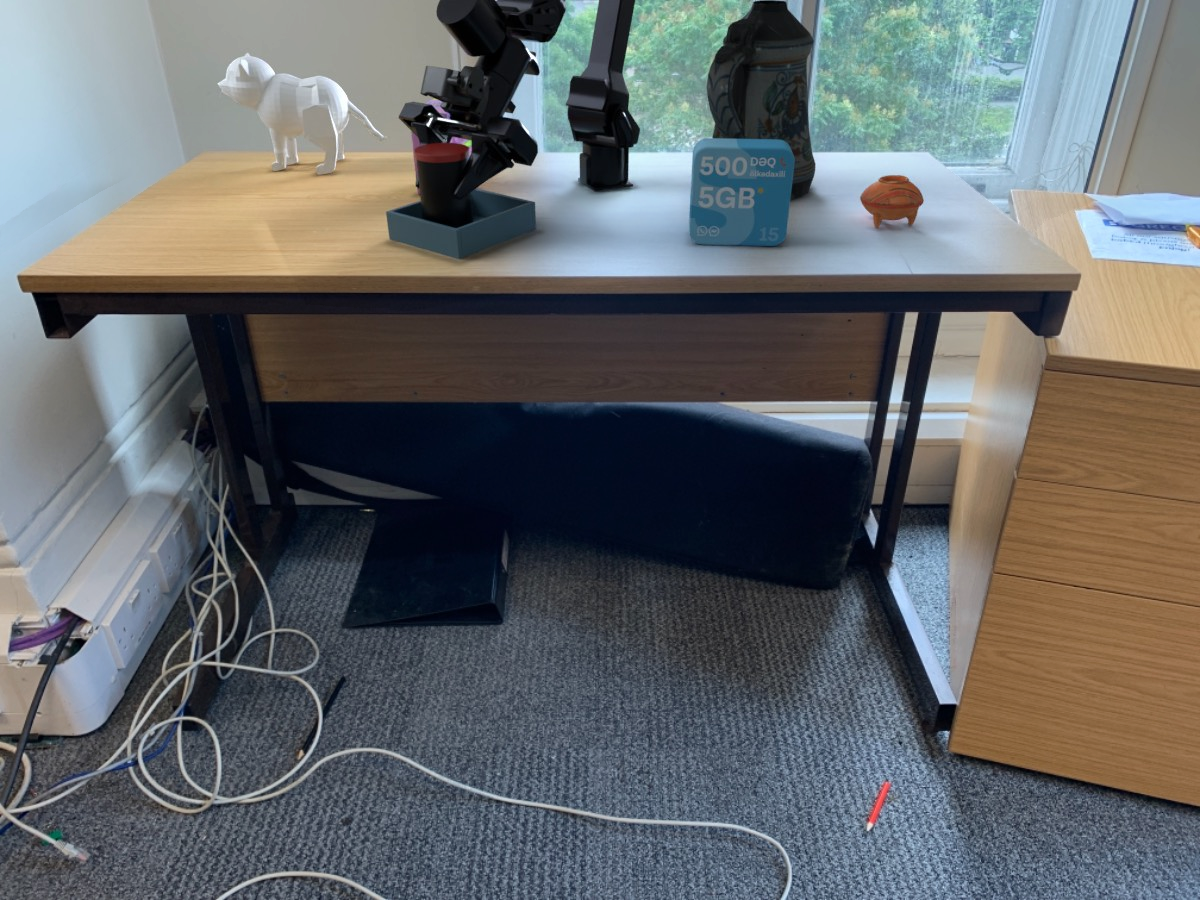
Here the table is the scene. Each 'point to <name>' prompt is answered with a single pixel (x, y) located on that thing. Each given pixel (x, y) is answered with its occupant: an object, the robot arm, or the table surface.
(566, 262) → the table surface
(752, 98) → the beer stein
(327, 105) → the cat figurine
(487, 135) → the robot arm
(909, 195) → the pot
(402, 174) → the table surface
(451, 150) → the tin
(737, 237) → the data package
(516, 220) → the tray
